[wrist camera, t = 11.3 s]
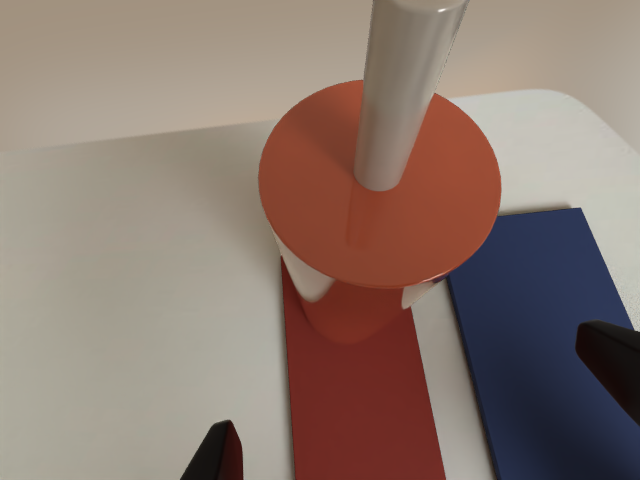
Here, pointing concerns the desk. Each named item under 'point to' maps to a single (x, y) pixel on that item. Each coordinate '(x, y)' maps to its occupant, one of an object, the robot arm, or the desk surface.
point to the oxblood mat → (358, 402)
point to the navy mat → (542, 350)
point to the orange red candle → (380, 178)
